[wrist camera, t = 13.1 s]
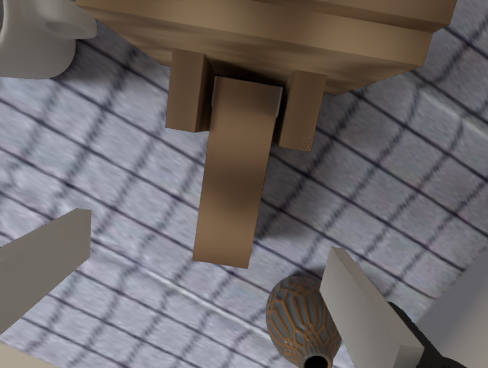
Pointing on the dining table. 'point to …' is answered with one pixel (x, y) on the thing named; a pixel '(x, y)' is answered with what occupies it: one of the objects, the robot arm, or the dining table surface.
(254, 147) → the brown wooden block
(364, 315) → the robot arm
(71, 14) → the cup
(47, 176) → the dining table surface
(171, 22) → the headboard
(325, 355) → the vase
